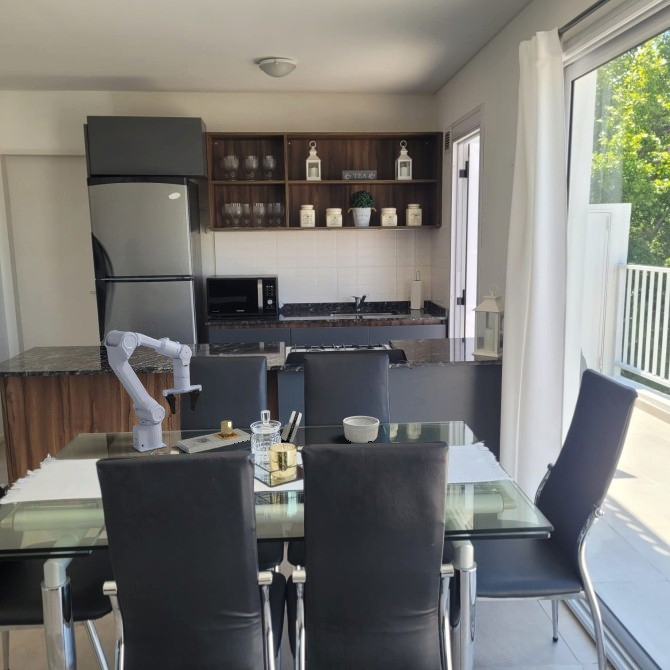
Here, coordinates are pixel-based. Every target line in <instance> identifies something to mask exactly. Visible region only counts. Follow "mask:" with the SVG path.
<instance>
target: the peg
mask: <svg viewBox="0 0 670 670" xmlns="http://www.w3.org/2000/svg"><path fill="white" fill-rule="evenodd" d="M232 430H233V421H232V420H221V421H220V432H221V437H223V438H225V437H230V436H232Z"/></svg>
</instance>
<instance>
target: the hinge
mask: <svg viewBox="0 0 670 670" xmlns="http://www.w3.org/2000/svg"><path fill="white" fill-rule="evenodd" d="M291 412H292V413H291V415H290V418H289V422H288V423H287V424H285V425H284V427H283V429H282V433H281V436H280V438H282V439H281V440H284V441H288V442H289V443H294V439H295V438H296V437H295V436H296V434H297V431H298V428H299V425H300V422H301V419H302V413H301V412H297V411H295V410H293V411H291Z"/></svg>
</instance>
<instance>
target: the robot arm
mask: <svg viewBox="0 0 670 670" xmlns="http://www.w3.org/2000/svg"><path fill="white" fill-rule="evenodd" d="M103 345H104V346H105V348H106V352H107V360H108V364H109V366H110V368H111V369H112V371H113V372H114V374H115V376H116V377H117V378H118V380H119V381H120V382H121V385H122V386H123V388H124V389H125V391H126V392H127V394H128V395H129V397H131V400H132V401H133V404H132V408H133V410H134V414H135V417H136V418H137V419H138V422H139V423H138V424H134V425H133V427H132V440H133V441H132V442H133V445H132V447H133V448H134V449H135V450H137V451H138V452H140V453H142V452H147V451H151V450H156V449H161V448H165V447H167V444H165V443H164V442H163V434H162V433H163V431H162V423H163V420H164V418H165V416H166V409H165V408H164V406H162V405H161V404H159V403H158V402H157V400H155V399H154V398H153V397H151V395H149V393H148V391H147V390H146V388H145V387H144V385H143V384H142V382H141V381H140V379H139V377H138V376H137V374H136V373H135V371H134V369H133V368H132V366H131V365H130V363H129V359H130V358H131V356H132V355H133V352H135V349H136V348H137V347H140V346H143V347H147V348H151V349H154V350H155V353H156V354H159V355H163V356H166V357H168V358H170V359H172V367H173V387H171V388H168V389H163V390H161V391H162V392H161V393H162V396H163V397H164V398H165V400H166V401H167V403H168V407H169V409H170V411H171V414H172V415H176V413H177V412H176V400H177V397H176V396H175V395H176V394H177V395H178V394H184V393H185V394H186V393H189V400H190V410H191V411H193V412H194V411H196V407H197V402H198V400H199V397H200V395H201V391H202V390H203V389H202V384H197V385H195V384H194V385H191V380H190V375H191V374H190V373H191V372H190V364H191V357H192V354H193V351H192V350H191V348H190V346H189V345H187V344H182V343H181V344H180V342H179V341H176V340H175V341H172V340H170V337H163V338H162V337H161V338H159V339H156V338H152V337H150V336H147V335H145V334H143V333H140V332H139V333H138V332H132V331H122V330H121V331H119V330H117V329H116V330H115V329H113V330H110V331H109V332H108V333H107V335H106V336H105V340H104V342H103Z"/></svg>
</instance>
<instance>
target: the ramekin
mask: <svg viewBox="0 0 670 670" xmlns="http://www.w3.org/2000/svg"><path fill="white" fill-rule="evenodd" d="M342 425H343V431H344V432H343V433H344V437H345V439H346V440H347V441H348V440H349V441H348V442H350V441H351V442H350V443H354V444H367V443H368V441H372V442H374V441H375V440H376V439H377V437H378V432H379V426H380V420H379V419H378V418H375V417H372V416H365V415H356V416H355V415H354V416H349V417H345V418H344V419H343V420H342ZM368 444H369V443H368Z"/></svg>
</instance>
